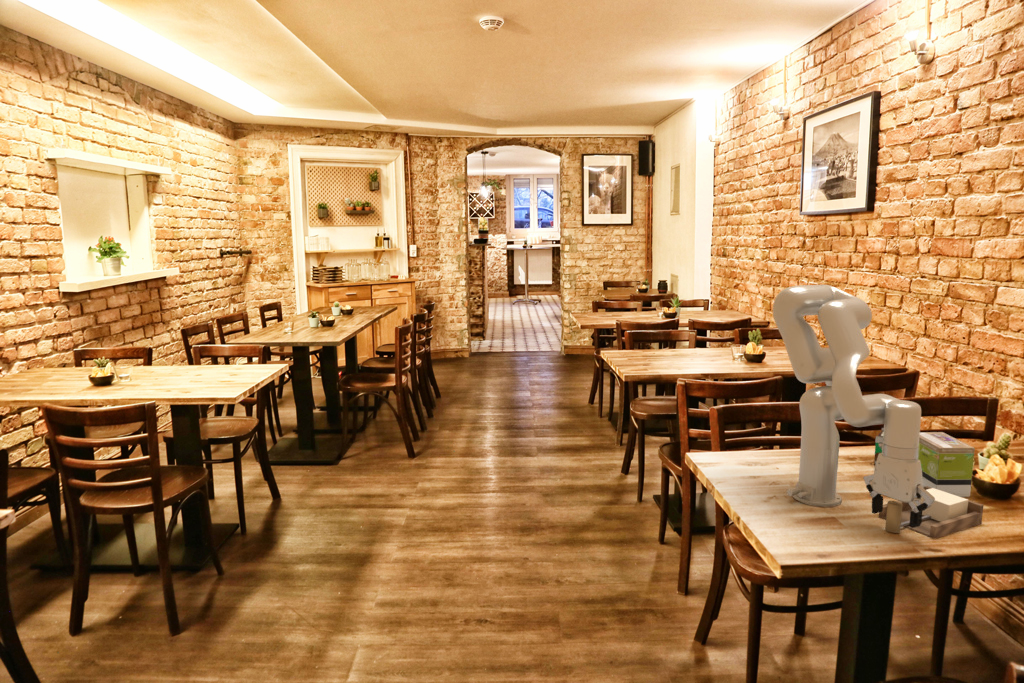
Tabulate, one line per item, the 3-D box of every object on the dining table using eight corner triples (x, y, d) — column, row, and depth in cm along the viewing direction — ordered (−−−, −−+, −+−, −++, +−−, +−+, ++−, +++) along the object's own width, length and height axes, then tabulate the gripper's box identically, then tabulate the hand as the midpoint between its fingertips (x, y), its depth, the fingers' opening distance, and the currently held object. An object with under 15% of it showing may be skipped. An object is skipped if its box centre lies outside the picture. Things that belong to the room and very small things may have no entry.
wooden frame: (934, 538, 159) (936, 519, 158) (878, 516, 172) (880, 498, 171) (981, 523, 168) (983, 504, 167) (924, 503, 180) (926, 486, 180)
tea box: (904, 478, 200) (908, 430, 197) (938, 478, 199) (943, 431, 197) (934, 497, 185) (939, 446, 182) (971, 497, 184) (976, 446, 182)
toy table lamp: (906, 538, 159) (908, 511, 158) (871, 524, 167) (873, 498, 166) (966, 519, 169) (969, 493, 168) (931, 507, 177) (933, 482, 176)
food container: (895, 470, 206) (898, 439, 205) (873, 466, 210) (875, 436, 208) (901, 460, 216) (903, 430, 214) (879, 456, 219) (882, 427, 218)
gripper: (857, 444, 166) (853, 510, 169) (926, 464, 151) (920, 535, 153) (876, 440, 170) (872, 504, 172) (946, 459, 154) (940, 529, 156)
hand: (895, 519), depth 162 cm, fingers open, 9 cm apart
